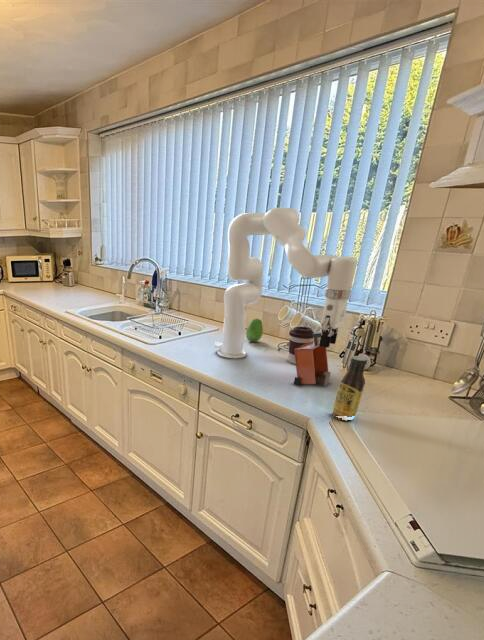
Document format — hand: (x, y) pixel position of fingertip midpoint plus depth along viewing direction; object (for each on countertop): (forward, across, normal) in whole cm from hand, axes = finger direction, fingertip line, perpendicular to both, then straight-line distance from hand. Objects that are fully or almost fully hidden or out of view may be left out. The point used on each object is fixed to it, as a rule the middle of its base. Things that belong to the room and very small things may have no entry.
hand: (327, 344), depth 142 cm
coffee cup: (+15, +18, +16) cm, 29 cm away
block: (+11, 0, 0) cm, 11 cm away
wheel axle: (+15, 0, +5) cm, 16 cm away
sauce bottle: (+15, -24, -16) cm, 33 cm away
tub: (+6, 0, +8) cm, 10 cm away
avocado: (+15, +34, +45) cm, 58 cm away
